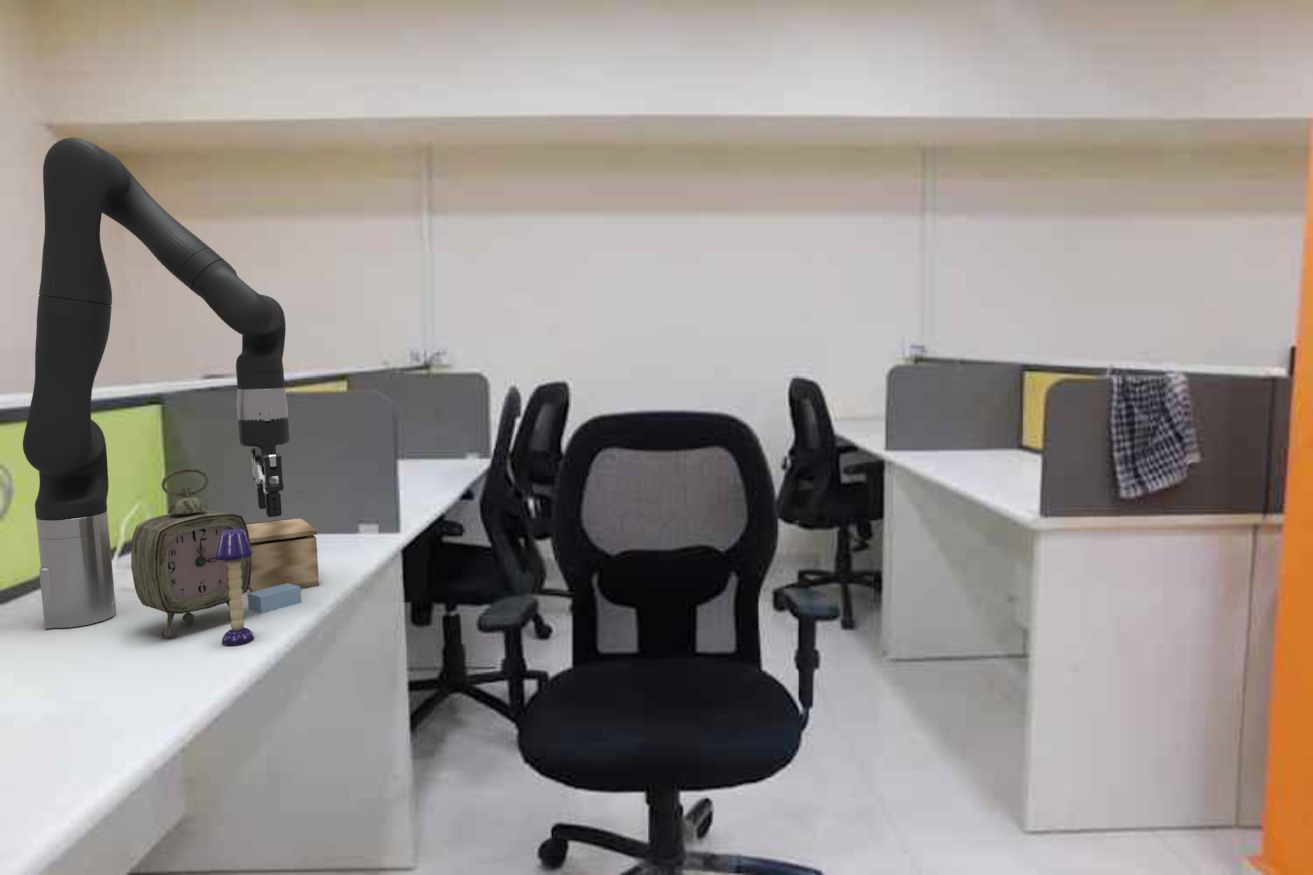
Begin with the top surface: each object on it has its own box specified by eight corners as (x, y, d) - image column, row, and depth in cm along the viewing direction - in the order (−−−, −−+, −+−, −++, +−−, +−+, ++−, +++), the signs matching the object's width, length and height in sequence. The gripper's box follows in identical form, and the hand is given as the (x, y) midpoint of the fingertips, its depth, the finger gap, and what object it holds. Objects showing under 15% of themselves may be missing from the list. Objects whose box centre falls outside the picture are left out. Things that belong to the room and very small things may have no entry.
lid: (247, 543, 139) (247, 538, 139) (236, 529, 152) (236, 525, 152) (317, 534, 145) (316, 530, 145) (301, 522, 158) (300, 518, 158)
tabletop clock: (160, 644, 117) (147, 476, 114) (131, 633, 122) (117, 472, 119) (255, 616, 129) (245, 464, 126) (225, 607, 134) (214, 460, 131)
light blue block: (261, 615, 131) (260, 597, 130) (248, 610, 133) (247, 593, 132) (301, 603, 136) (300, 586, 136) (288, 599, 138) (287, 583, 138)
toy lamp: (224, 636, 120) (217, 528, 118) (259, 632, 121) (252, 525, 119) (219, 647, 115) (211, 535, 113) (255, 643, 117) (248, 532, 115)
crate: (252, 596, 140) (249, 546, 139) (241, 575, 153) (237, 530, 152) (319, 585, 146) (316, 537, 145) (302, 566, 159) (299, 522, 158)
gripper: (232, 414, 135) (239, 508, 137) (243, 420, 123) (251, 522, 125) (280, 412, 139) (286, 503, 141) (295, 417, 128) (302, 516, 129)
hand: (269, 512), depth 133 cm, fingers open, 8 cm apart
